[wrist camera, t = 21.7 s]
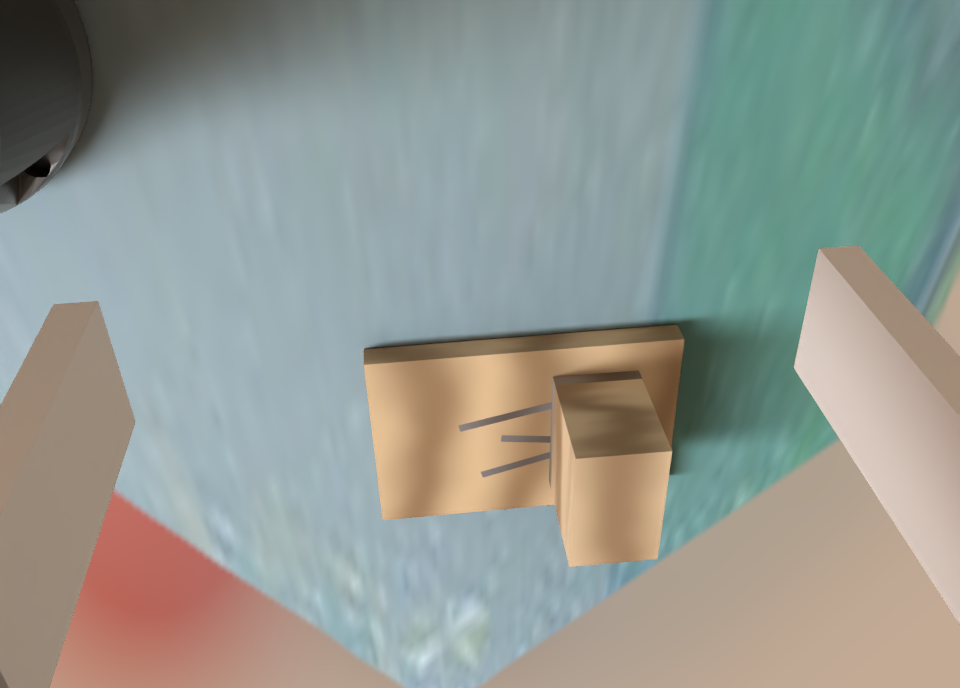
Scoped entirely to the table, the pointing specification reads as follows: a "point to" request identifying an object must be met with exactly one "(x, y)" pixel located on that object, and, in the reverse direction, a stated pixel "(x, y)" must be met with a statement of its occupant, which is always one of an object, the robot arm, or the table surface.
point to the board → (493, 413)
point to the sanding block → (607, 468)
